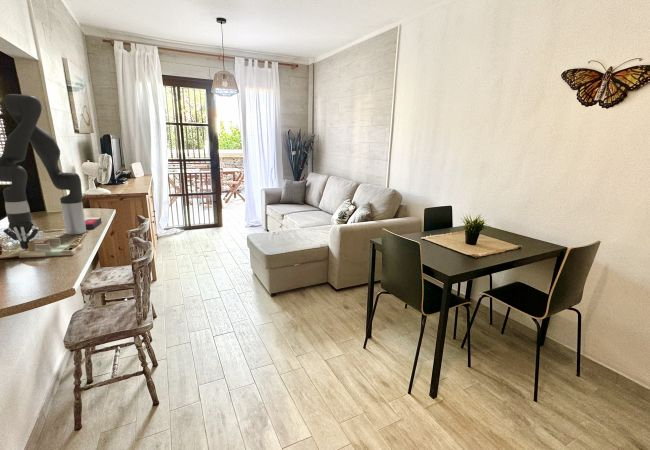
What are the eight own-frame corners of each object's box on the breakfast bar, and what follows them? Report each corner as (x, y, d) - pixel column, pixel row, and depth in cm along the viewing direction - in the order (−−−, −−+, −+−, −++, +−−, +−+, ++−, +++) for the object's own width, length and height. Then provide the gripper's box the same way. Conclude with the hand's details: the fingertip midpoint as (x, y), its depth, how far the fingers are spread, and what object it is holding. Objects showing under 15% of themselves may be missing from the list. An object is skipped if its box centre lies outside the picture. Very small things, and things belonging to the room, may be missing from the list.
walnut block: (36, 247, 148) (34, 239, 147) (50, 246, 150) (48, 238, 149) (29, 251, 143) (27, 242, 142) (44, 250, 145) (42, 242, 144)
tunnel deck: (31, 250, 150) (29, 239, 149) (83, 247, 156) (81, 237, 155) (19, 257, 141) (16, 245, 139) (74, 254, 147) (72, 243, 145)
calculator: (70, 224, 182) (79, 217, 195) (71, 231, 183) (81, 223, 197) (93, 223, 186) (100, 216, 199) (94, 230, 187) (101, 223, 200)
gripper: (41, 209, 146) (47, 245, 150) (5, 209, 142) (13, 246, 147) (31, 212, 139) (38, 250, 143) (-7, 213, 135) (2, 252, 140)
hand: (25, 248), depth 145 cm, fingers closed
